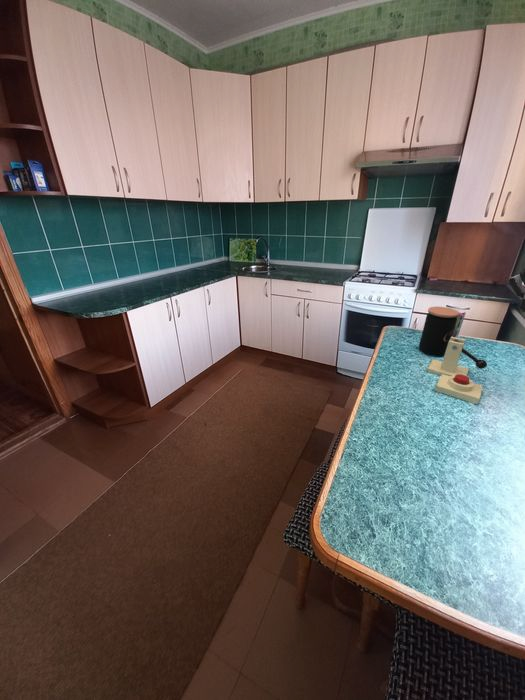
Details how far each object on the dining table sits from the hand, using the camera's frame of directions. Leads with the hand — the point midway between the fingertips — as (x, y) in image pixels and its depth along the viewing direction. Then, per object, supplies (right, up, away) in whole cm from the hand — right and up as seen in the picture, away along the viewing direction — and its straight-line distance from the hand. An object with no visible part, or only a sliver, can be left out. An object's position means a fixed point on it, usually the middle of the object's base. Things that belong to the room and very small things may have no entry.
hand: (524, 311), depth 86 cm
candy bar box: (-1, -10, +41) cm, 42 cm away
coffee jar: (-6, -12, +36) cm, 39 cm away
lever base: (-9, -20, +22) cm, 30 cm away
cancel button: (-13, -22, +9) cm, 27 cm away
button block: (-13, -25, +10) cm, 30 cm away
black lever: (-6, -14, +16) cm, 22 cm away
